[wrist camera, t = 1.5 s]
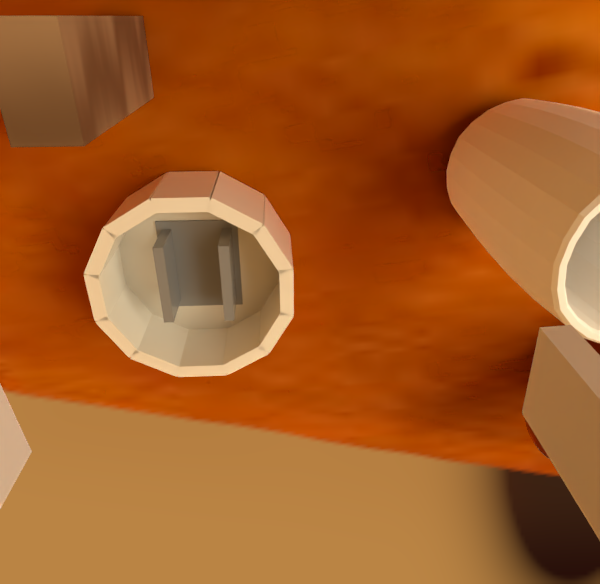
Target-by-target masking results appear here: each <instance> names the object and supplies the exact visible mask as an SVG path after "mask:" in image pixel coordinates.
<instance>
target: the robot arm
mask: <svg viewBox="0 0 600 584" xmlns="http://www.w3.org/2000/svg"><path fill="white" fill-rule="evenodd" d="M522 414H523V416H524V417H525V419H526V421H527V422H528V424H529V426H530V427H531V429H532V431H533V432H534V434H535V435H536V437H537V439H538V440H539V442H540V444H541V445H542V447H543V449H544V450H545V452H546V453H547V455H548V457H549V458H550V460H551V462H552V463H553V465H554V467H555V468H556V470H557V471H558V473H559V475H560V476H561V478H562V480H563V481H564V483H565V485H566V486H567V488H568V489H569V491H570V493H571V494H572V496H573V498H574V499H575V501H576V502H577V504H578V506H579V507H580V509H581V511H582V512H583V514H584V516H585V517H586V518H587V520H588V522H589V524H590V525H591V527H592V528H593V530H594V532H595V534H596V535H597V537H598V538H599V540H600V355H599V354H598V353H597V352H596V351H595V350H594V349H593V347H592V346H591V345H590V344H589V343H588V342H587V341H586V340H585V339H584V338H583V337H582V336H581V335H580V334H579V333H578V332H577V330H576V329H575V328H574V327H573V326H572V325H564V326H551V327H540V328H539V333H538V338H537V343H536V347H535V352H534V357H533V362H532V366H531V371H530V376H529V381H528V385H527V390H526V395H525V400H524V405H523V409H522ZM31 452H32V451H31V449H30V447H29V444H28V442H27V440H26V438H25V436H24V434H23V431H22V429H21V427H20V425H19V423H18V421H17V419H16V417H15V414H14V412H13V410H12V408H11V406H10V404H9V401H8V399H7V397H6V395H5V393H4V391H3V389H2V386H1V384H0V508H1V507H2V505H3V503H4V501H5V499H6V497H7V496H8V494H9V492H10V490H11V488H12V486H13V485H14V483H15V481H16V479H17V478H18V475H19V474H20V472H21V470H22V468H23V467H24V465H25V463H26V461H27V459H28V458H29V456H30V454H31Z"/></svg>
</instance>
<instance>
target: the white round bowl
mask: <svg viewBox="0 0 600 584" xmlns="http://www.w3.org/2000/svg"><path fill="white" fill-rule="evenodd" d="M84 279H85V283H86V288H87V292H88V296H89V300H90V304H91V309H92V313H93V317H94V321H96V322H95V323H96V324H97V325H98V326H99V327H100V328H101V329H102V330H103V331H104V332H105V333H106V334H107V335H108V336H109V337H110V338H111V339H112V341H113V342H114V343H115V344H116V345H117V346H118V347H119V348H120V349H121V350H122V351H123V352H124V353H125V354H126V355H127V356H128V357H131V358H130V359H132V360H135V361H137V362H140V363H143V364H145V365H148V366H150V367H153V368H155V369H158V370H160V371H163V372H166V373H168V374H171V375H173V376H176V377H177V375H178V377H193V376H222V375H226V373H227V375H229V374H231V373H233V372H235V371H237V370H238V369H240V368H242V367H244V366H246V365H248V364H250V363H252V362H254V361H256V360H258V359H260V358H262V357H264V356H266V355H268V353H270V352H271V350H272V349H273V347H274V346H275V344H276V343H277V341H278V339H279V338H280V336H281V335H282V333H283V332H284V330H285V329H286V327H287V326H288V324H289V323H290V321H291V320H292V318H293V315H294V275H293V259H292V248H291V237H290V233H289V232H288V230H287V229H286V227H285V226H284V224H283V223H282V221H281V219H280V218H279V216H278V215H277V213H276V212H275V210H274V209H273V207H272V205H271V204H270V202H269V201H268V199H267V198H266V196H264V194H262V193H260V192H258V191H256V190H254V189H253V188H251V187H249V186H247V185H245V184H243V183H241V182H239V181H237V180H236V179H234V178H232V177H230V176H228V175H226V174H224V173H222V172H220V173H219V172H218V171H184V172H168V173H167V172H166V173H165V174H163V175H161V176H160V177H158V178H157V179H155V180H153V181H152V182H150V183H149V184H147V185H146V186H144V187H142V188H141V189H139V190H138V191H136V192H134V193H133V194H131V195H130V196H128V197H127V198H126V199H125V200H124V202H123V203H122V204H121V205H120V207H119V208H118V209H117V210H116V212H115V213H114V214H113V215H112V217H111V218H110V219H109V220H108V222H107V223H106V224H105V226H104V227H103V228H102V230H101V232H100V235H99V237H98V240H97V242H96V244H95V247H94V249H93V252H92V254H91V257H90V259H89V261H88V264H87V266H86V269H85V271H84Z"/></svg>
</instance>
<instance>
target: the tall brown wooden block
mask: <svg viewBox="0 0 600 584" xmlns="http://www.w3.org/2000/svg"><path fill="white" fill-rule="evenodd" d="M153 98H154V94H153V86H152V79H151V71H150V64H149V57H148V49H147V42H146V34H145V27H144V20H143V16H0V109H1V113H2V116H3V120H4V124H5V127H6V131H7V134H8V138H9V142H10V145H11V147H62V146H85V145H87V144H88V143H89V142H91V141H92V140H94V139H95V138H97V137H98V136H100V135H101V134H102V133H104V132H105V131H107V130H108V129H110V128H111V127H112V126H114V125H115V124H117V123H118V122H120V121H121V120H122V119H124V118H125V117H127V116H128V115H130V114H131V113H133V112H134V111H135V110H137V109H138V108H140V107H141V106H143V105H144V104H145V103H147V102H148V101H150V100H151V99H153Z"/></svg>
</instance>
